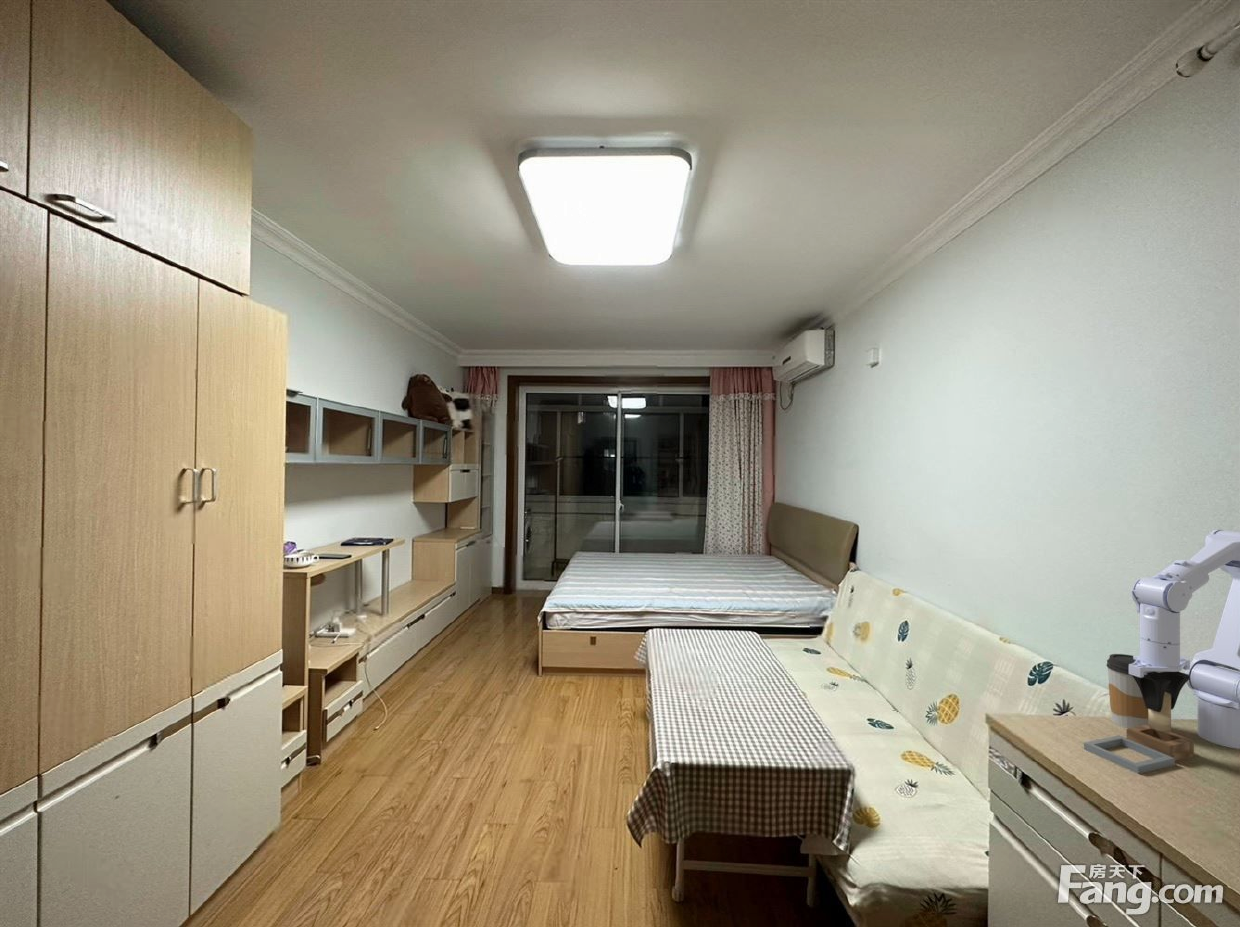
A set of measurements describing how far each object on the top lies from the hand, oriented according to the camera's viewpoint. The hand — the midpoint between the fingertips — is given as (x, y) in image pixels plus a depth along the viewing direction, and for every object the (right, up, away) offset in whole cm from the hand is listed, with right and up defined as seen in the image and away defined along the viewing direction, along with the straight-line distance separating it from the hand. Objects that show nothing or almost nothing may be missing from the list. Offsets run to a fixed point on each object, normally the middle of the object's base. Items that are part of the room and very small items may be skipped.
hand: (1159, 708), depth 109 cm
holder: (0, -9, 0) cm, 9 cm away
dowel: (0, -4, 0) cm, 4 cm away
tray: (-9, -9, -3) cm, 13 cm away
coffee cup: (+5, -9, +11) cm, 15 cm away
